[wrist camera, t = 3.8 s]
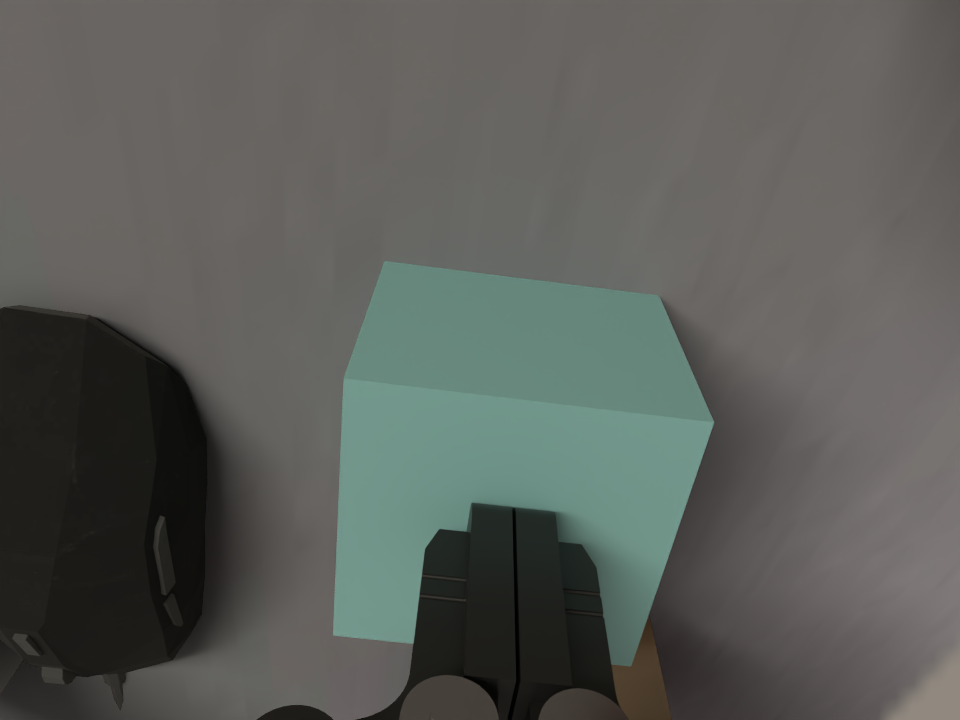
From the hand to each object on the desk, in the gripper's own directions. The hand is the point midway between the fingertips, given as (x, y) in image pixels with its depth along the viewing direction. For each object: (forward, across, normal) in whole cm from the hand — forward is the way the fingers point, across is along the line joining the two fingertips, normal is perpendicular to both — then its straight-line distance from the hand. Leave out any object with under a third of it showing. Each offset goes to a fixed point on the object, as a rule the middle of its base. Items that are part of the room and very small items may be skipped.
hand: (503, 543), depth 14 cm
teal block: (+5, 0, 0) cm, 5 cm away
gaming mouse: (+6, +10, +6) cm, 13 cm away
